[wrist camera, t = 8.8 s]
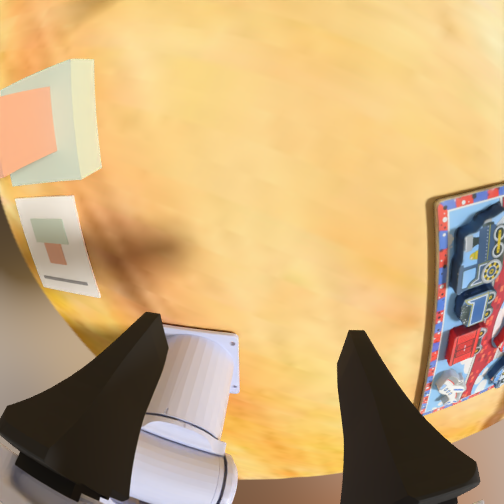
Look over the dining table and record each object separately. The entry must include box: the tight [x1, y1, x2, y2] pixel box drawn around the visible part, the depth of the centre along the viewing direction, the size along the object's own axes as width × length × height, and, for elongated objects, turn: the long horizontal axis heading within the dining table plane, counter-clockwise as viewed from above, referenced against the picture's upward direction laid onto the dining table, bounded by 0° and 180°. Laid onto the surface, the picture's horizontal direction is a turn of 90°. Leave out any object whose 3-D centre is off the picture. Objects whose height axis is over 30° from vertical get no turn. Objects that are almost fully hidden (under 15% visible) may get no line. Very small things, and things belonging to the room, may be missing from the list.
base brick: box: [0, 59, 102, 186], centre depth 16 cm, size 8×8×3 cm
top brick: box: [0, 86, 57, 178], centre depth 12 cm, size 4×4×5 cm
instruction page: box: [15, 195, 101, 298], centre depth 22 cm, size 10×8×1 cm
